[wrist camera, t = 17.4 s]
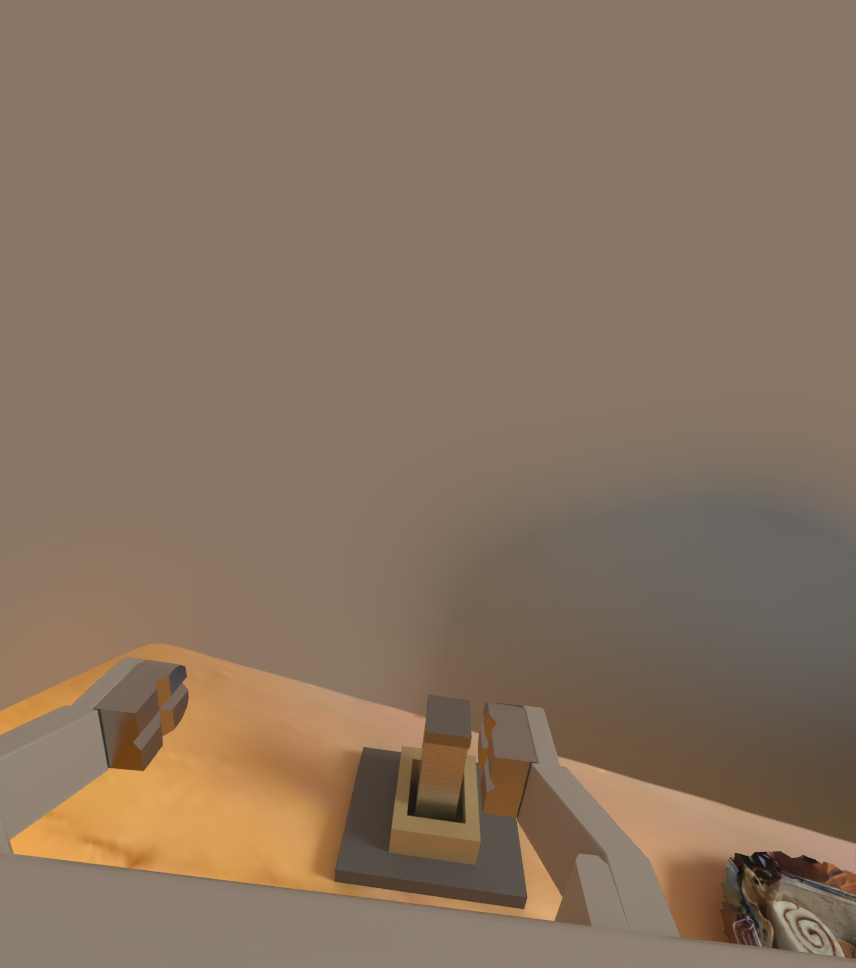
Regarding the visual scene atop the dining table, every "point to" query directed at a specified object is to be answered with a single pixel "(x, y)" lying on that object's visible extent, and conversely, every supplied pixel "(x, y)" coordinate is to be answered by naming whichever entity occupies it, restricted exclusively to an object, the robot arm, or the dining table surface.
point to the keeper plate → (427, 837)
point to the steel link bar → (442, 757)
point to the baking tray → (789, 903)
